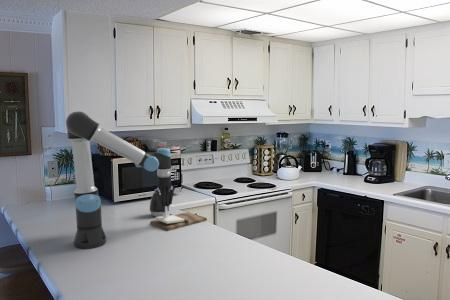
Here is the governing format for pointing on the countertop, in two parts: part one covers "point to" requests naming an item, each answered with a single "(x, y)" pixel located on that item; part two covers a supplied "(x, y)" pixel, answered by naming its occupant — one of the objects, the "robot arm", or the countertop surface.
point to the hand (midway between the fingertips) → (165, 217)
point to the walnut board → (189, 220)
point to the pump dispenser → (155, 206)
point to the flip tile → (170, 219)
